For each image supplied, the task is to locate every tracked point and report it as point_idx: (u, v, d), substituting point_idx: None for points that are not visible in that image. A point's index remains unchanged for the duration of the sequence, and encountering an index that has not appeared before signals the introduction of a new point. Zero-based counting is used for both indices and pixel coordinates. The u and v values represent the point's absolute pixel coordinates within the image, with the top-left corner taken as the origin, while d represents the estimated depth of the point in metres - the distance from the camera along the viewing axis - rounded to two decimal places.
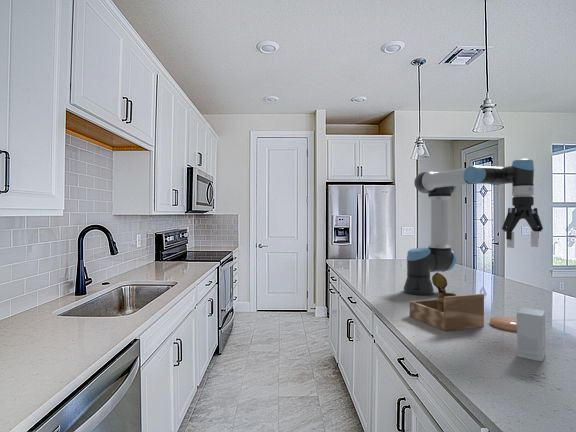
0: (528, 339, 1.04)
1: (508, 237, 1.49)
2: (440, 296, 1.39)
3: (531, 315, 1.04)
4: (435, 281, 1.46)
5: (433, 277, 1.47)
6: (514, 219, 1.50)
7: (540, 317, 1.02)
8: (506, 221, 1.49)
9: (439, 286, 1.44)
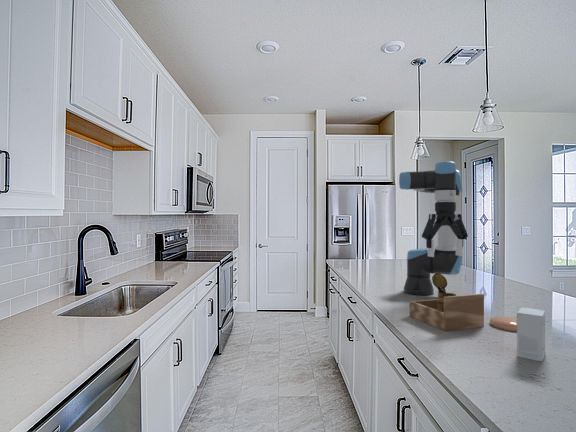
0: (528, 339, 1.04)
1: (428, 245, 1.39)
2: (440, 296, 1.39)
3: (531, 315, 1.04)
4: (435, 281, 1.46)
5: (433, 277, 1.47)
6: (435, 226, 1.40)
7: (540, 317, 1.02)
8: (426, 228, 1.39)
9: (439, 286, 1.44)
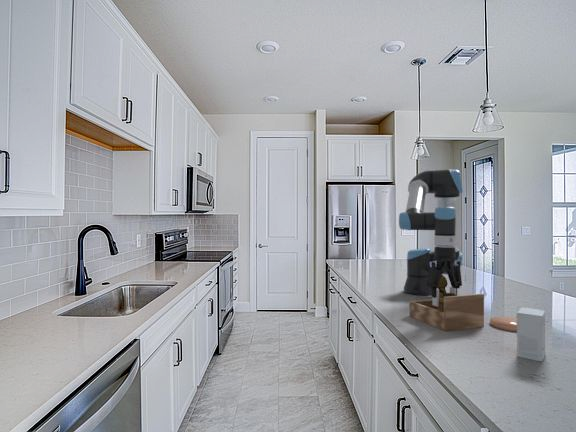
0: (528, 339, 1.04)
1: (433, 295, 1.40)
2: (440, 296, 1.39)
3: (531, 315, 1.04)
4: None
5: None
6: (437, 273, 1.40)
7: (540, 317, 1.02)
8: (429, 277, 1.40)
9: (440, 286, 1.44)
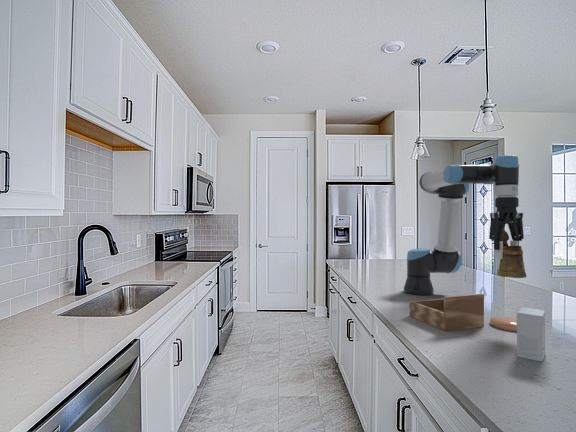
0: (528, 339, 1.04)
1: (496, 247, 1.34)
2: (504, 248, 1.33)
3: (531, 315, 1.04)
4: None
5: None
6: (499, 225, 1.35)
7: (540, 317, 1.02)
8: (491, 229, 1.34)
9: (501, 240, 1.38)
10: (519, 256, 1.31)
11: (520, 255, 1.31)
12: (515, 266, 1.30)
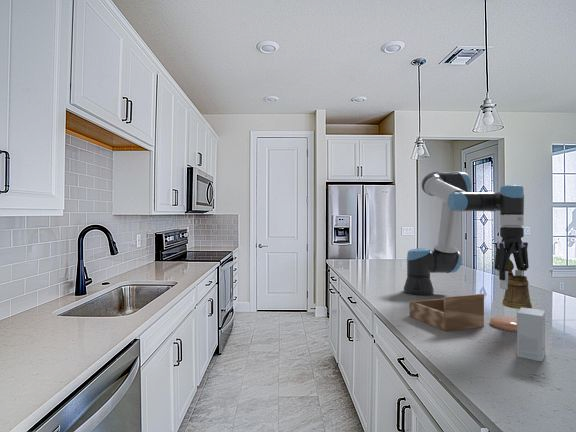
0: (528, 339, 1.04)
1: (501, 277, 1.33)
2: (509, 278, 1.33)
3: (531, 315, 1.04)
4: None
5: None
6: (504, 255, 1.34)
7: (540, 317, 1.02)
8: (497, 259, 1.34)
9: None
10: (525, 287, 1.30)
11: (526, 286, 1.30)
12: (521, 297, 1.30)
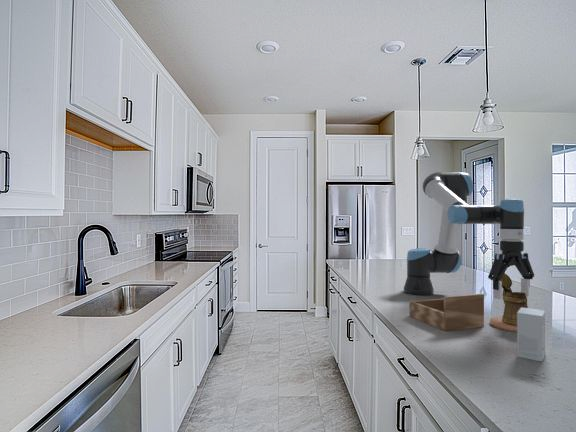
0: (528, 339, 1.04)
1: (495, 287, 1.33)
2: (509, 295, 1.33)
3: (531, 315, 1.04)
4: None
5: None
6: (502, 266, 1.34)
7: (540, 317, 1.02)
8: (493, 269, 1.33)
9: (505, 285, 1.38)
10: (524, 304, 1.31)
11: (525, 303, 1.31)
12: None
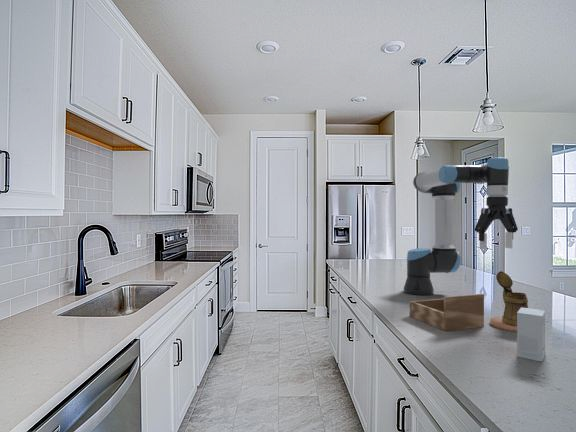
0: (528, 339, 1.04)
1: (480, 238, 1.44)
2: (509, 296, 1.33)
3: (531, 315, 1.04)
4: (500, 280, 1.40)
5: (497, 276, 1.40)
6: (487, 220, 1.45)
7: (540, 317, 1.02)
8: (479, 222, 1.44)
9: (505, 286, 1.38)
10: (524, 305, 1.30)
11: (525, 303, 1.31)
12: None
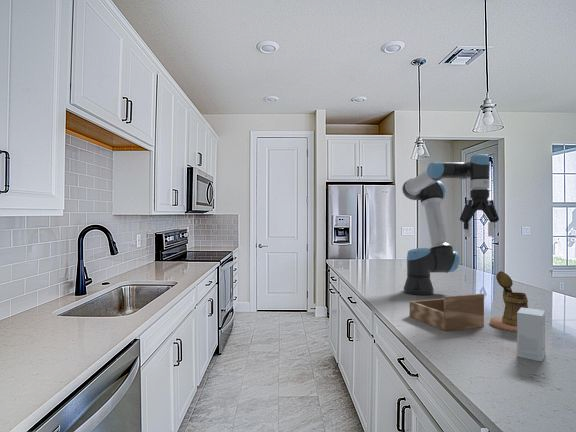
0: (528, 339, 1.04)
1: (465, 227, 1.60)
2: (509, 296, 1.33)
3: (531, 315, 1.04)
4: (500, 280, 1.40)
5: (497, 276, 1.41)
6: (471, 210, 1.61)
7: (540, 317, 1.02)
8: (463, 212, 1.60)
9: (505, 286, 1.38)
10: (524, 305, 1.30)
11: (525, 303, 1.31)
12: None
